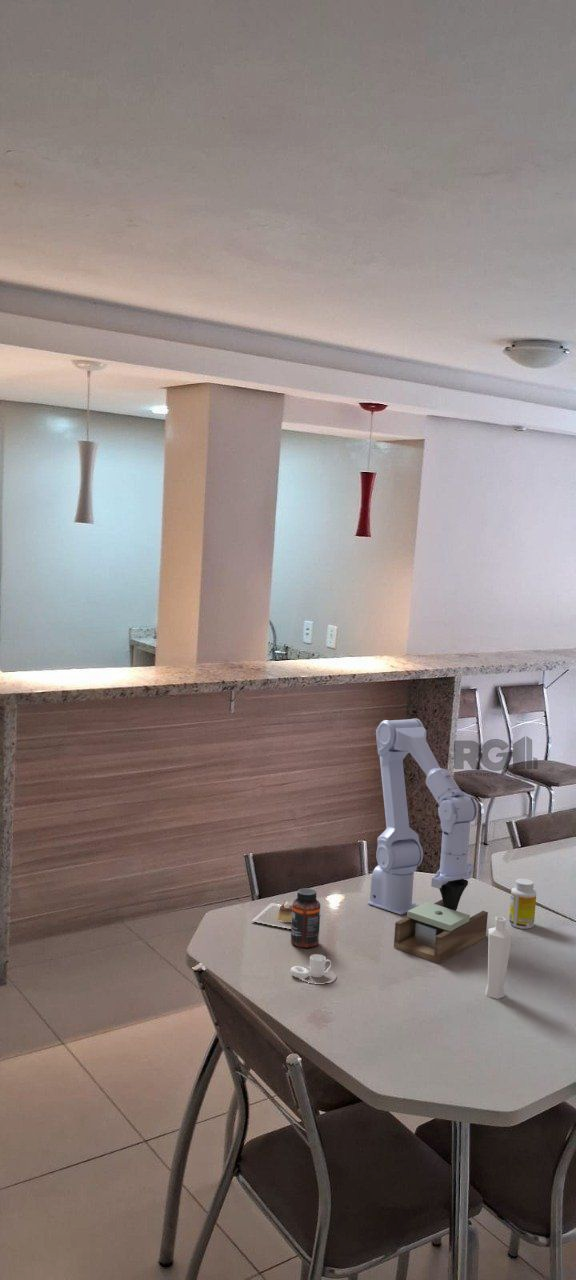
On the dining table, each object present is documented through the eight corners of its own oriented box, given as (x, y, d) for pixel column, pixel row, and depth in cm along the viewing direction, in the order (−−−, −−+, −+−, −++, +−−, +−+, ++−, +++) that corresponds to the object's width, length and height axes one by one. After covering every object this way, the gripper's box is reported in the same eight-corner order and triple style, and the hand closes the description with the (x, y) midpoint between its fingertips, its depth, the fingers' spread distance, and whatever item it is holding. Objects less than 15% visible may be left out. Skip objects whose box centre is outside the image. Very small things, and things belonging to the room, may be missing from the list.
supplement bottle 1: (323, 942, 211) (326, 890, 210) (309, 951, 206) (312, 898, 205) (299, 935, 214) (302, 884, 213) (285, 943, 209) (287, 891, 208)
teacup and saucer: (286, 980, 193) (287, 960, 193) (300, 964, 201) (301, 945, 200) (329, 990, 190) (330, 969, 190) (341, 973, 198) (343, 954, 197)
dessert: (271, 907, 231) (272, 887, 230) (320, 917, 227) (321, 896, 226) (250, 925, 220) (251, 904, 219) (302, 936, 215) (303, 914, 215)
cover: (406, 916, 213) (407, 910, 213) (426, 907, 219) (427, 900, 219) (450, 931, 207) (450, 924, 206) (469, 921, 213) (469, 914, 213)
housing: (393, 947, 211) (395, 922, 210) (442, 921, 226) (444, 898, 226) (438, 963, 204) (440, 937, 203) (486, 936, 219) (487, 912, 219)
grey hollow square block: (414, 941, 212) (415, 923, 211) (426, 934, 215) (428, 916, 215) (434, 948, 208) (436, 929, 208) (447, 941, 212) (448, 923, 212)
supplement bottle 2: (538, 926, 227) (542, 883, 225) (523, 931, 223) (527, 887, 222) (518, 918, 231) (522, 875, 230) (503, 923, 227) (507, 879, 226)
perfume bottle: (490, 986, 195) (496, 912, 193) (510, 994, 192) (516, 919, 190) (477, 992, 192) (483, 917, 190) (496, 1001, 188) (502, 924, 187)
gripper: (453, 863, 207) (449, 926, 209) (487, 848, 218) (482, 908, 220) (424, 855, 212) (420, 916, 213) (458, 840, 223) (454, 899, 224)
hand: (450, 912), depth 217 cm, fingers closed
